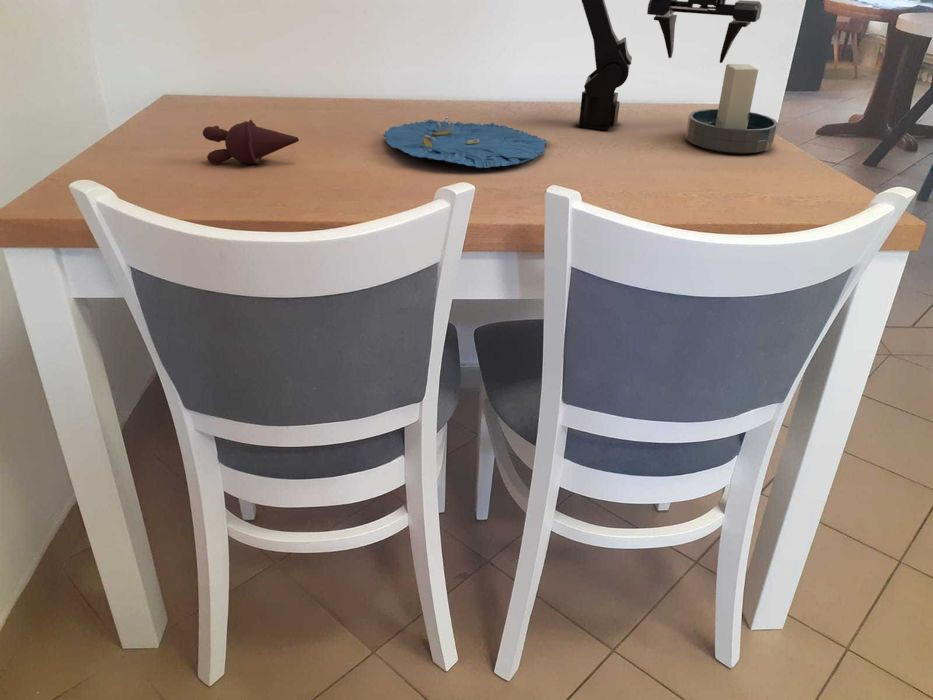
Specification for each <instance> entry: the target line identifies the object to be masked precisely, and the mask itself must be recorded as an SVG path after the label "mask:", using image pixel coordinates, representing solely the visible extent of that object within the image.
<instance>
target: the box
mask: <svg viewBox="0 0 933 700" xmlns="http://www.w3.org/2000/svg"><path fill="white" fill-rule="evenodd" d="M758 73H759V69H758V68H756V67H755V66H753V65H750V64H740V63H739V64H738V63H728V64H725V70H724V75H723V80H722V86H721V92H720V98H719V102H718V108H717V109H718V114H717V120H716V125H715V126H718V127H724V128H731V129H747V125H748V120H749V114H750V112H751V109H752V105H753V104H752V103H753V100H754V94H755V89H756V84H757V80H758Z"/></svg>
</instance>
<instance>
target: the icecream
mask: <svg viewBox="0 0 933 700" xmlns="http://www.w3.org/2000/svg"><path fill="white" fill-rule="evenodd" d="M202 136H203V137H204V138H205V140H208V141H211V142H215V143H220V142H224V143H225V144H224V145H225V148H220V149H219V148H218V149H214V150H212V151H210V152H208V154H207V156H206V159H207V161H208V163H210V164H222V163H225V162H227V161H229V160H230V159H232V158H233V159H234V160H235V161H237V162H239V163H242V164H250V165H254V164H256V165H260V164H261V161H262V158H264V157H266V156H268V155H271V154H273V153H275V152H277V151H279V150H282V149H284V148H286V147H288V146H291V145H293V144H295V143H298V142H300V141H299V137H297V136H295V135H291V134H287V133H283V132H279V131H275V130H272V129H268V128H264V127H261V126H257V125H256V123H254V121H253V120H252V119H249V120H248V121H246V120H245V121H243V122H239V123H235V124H234V125H233V126H231V127H230V128H229V129H228V130H226V129H224V128H220V127H219V125H214V126H206V127H204V128H203V130H202Z"/></svg>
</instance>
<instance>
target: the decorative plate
mask: <svg viewBox="0 0 933 700" xmlns="http://www.w3.org/2000/svg"><path fill="white" fill-rule="evenodd" d="M449 119H450V117H449V116H446V117H444V119H443V121H439V120H434V119H428V120H425V119H424V121H416V122H410V123H404V124H402V125H397V126H392V127H390V128H389V129H388V130H385V131H384V133H383V134H382V138H383V139H384V138H385V141H386V142H387V144H388V145H389V146H390V147H391V148H393V149H399V150H400V151H402V152H403V153H406V154H409V156H411V157H417V158H421V159H423V158H427V159H428V161H433V160H436V161H445V162H446V163H455V164H458V165H465V166H467V167H475V168H478V169H483V168H485V169H487V168H488V169H489V168H491V167H501V166H502V167H507V166H508V167H509V166H511V165H515V166H517V165H519V164H524V163H525V162H529V161H531V160H534V159H536V158H538V157H540V155H543V154H544V153H545V152H546V147H545V146H546V145H547V143H549V141H547V140H546V139H543V138H542V137H538V136H537V135H532V134H529V132H527V131H526V132H524V131H523V130H520V129H514V128H513V127H509V126H507V125H499V124H495V123H494V122H490V123H489V122H488V123H484V124H481V123H475V122H468V123H463V122H458V121H457V122H455V123H453V122H450V120H449Z"/></svg>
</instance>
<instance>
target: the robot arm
mask: <svg viewBox="0 0 933 700" xmlns="http://www.w3.org/2000/svg"><path fill="white" fill-rule="evenodd" d="M581 4H582V7H583V10H584V13H585V17H586V21H587V23H588V27H589V30H590V34H591V36H592V39H593V40H592V41H593V50H594V61H595V70H593V71H592V72H591V73H590V74H589V75H588V76H587V77H586V80H585V83H584V86H583V87H584V90H583V91H582V92H581V101H580V110H579V111H580V112H579V119H578V120H579V121H578V122H576V123H575V126H576V127H579V128H587V129H593V130H601V131H610V130H611V129H612V128H613V127H615V126H616V125H617V124H618V121H619V120H618V119H619V112H620V111H619V110H620V105H621V103H620V101H618V97H619V92H615V91H616V90H617V88H620V87H621V86H623V85H624V83H626V81H627V79H628V78H629V73H630V66H631V65H632V60H633V57H632V55H631V54H630V53H629V49H628V43H627V37H623V38H621V39H619V38H618V37H617V35H616V32H615V31H614V29H613V26H612V25H613V24H612V22H611V18H610V15H609V11H608V8H607V4H606V1H605V0H581ZM694 5H699V6H697V7H696V6H694ZM762 7H763V6H762V3H761V1H758V0H757V1H756V0H737V1H736V2H734V4H733V3H732V4H730V3H726V0H687V1H684V0H683V1H682V0H649V1H648V4H647V11H646V15H648V16H649V15H651V16H653V21H658V23H659V26H660V30H661V32H662V35H663V39H664V43H665V48H666V53H667V58H668V59H672V58H673V53H674V47H675V29H676V21H677V18H678V14H675V13H684V14H685V13H687V14H699V15H713V16H714V15H715V16H728V17H732V20H731V21H729V22H728V25H727V29H726V34H725V36H724V40H723V44H722V47H721V51H720V55H719V56H720V57H719V64H723V63H724V60H725V59H726V57H727V54H728V52H729V50H730V48H731V46H732V45H733V43H734V41H735V38H736V37H737V36H738V35H739V33H740V31H741V30H742V28H746V27H748V26H749V25H751V23H756V22H758V21H759V20H760V18H761V15H762V14H761V13H762Z"/></svg>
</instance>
